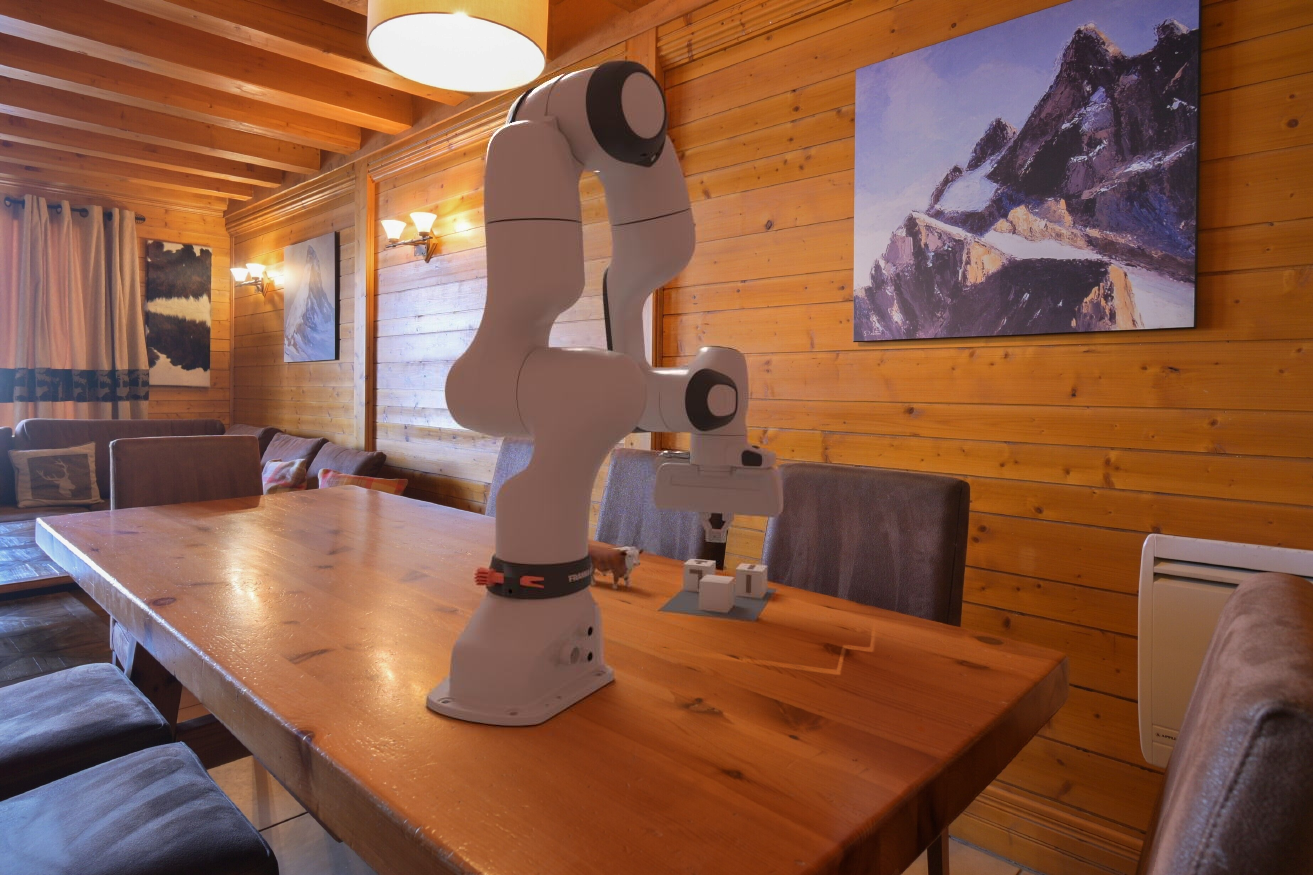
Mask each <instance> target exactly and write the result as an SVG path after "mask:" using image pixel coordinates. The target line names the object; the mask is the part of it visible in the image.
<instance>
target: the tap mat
mask: <svg viewBox="0 0 1313 875" xmlns="http://www.w3.org/2000/svg"><path fill="white" fill-rule="evenodd" d="M776 591H777V588H775V587H767V592H766V593H765V595H764V596H763V598H762V599H761V598H751V597H742V596H735V583H734V605H733V607H732V608H731V609H730V610H729V611H728V613H723V612H714V611H706V610H699V592H695V591H685V590H683V588H682V589H681V590H680V591H679V592H677V593H676V594H675V595H674V596H673V597H671V598H670V599H669V600H668V601H667V602H666V603H665V604H664V605H662V606H661V607H660V608H659V609H657V611H659V612H666V613H673V614H674V613H675V614H683V615H692V616H699V617H708V618H715V619H716V618H718V619H724V620H725V619H726V620H735V621H743V622H750V623H755V622H756V621H757V619H758V618H759V616H760V615H761V613H762V611H763V610H764V609H765V607H766V606H767V605H768V602H769V601H770V600H771V598H772V596H773V595H774V594H775V592H776Z"/></svg>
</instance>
